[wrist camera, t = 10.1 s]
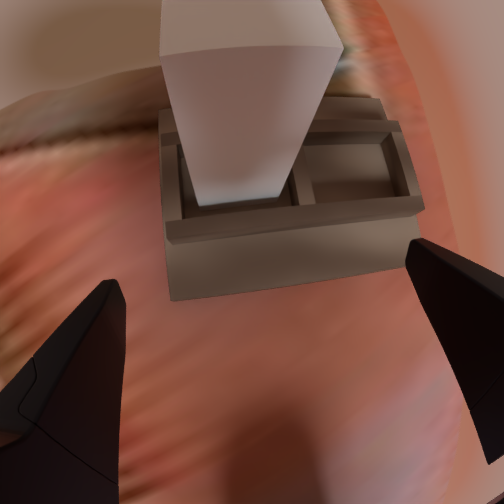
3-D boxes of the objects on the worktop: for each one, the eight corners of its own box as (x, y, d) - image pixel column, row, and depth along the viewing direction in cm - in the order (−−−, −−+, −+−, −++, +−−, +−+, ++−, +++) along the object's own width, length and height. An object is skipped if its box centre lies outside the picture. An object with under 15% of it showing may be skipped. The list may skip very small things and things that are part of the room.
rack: (417, 264, 22) (441, 258, 19) (173, 301, 21) (164, 300, 18) (374, 106, 25) (388, 85, 21) (161, 118, 23) (153, 94, 20)
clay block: (276, 201, 21) (343, 47, 7) (200, 211, 21) (159, 56, 7) (269, 161, 22) (316, -8, 8) (196, 169, 21) (162, -2, 7)
